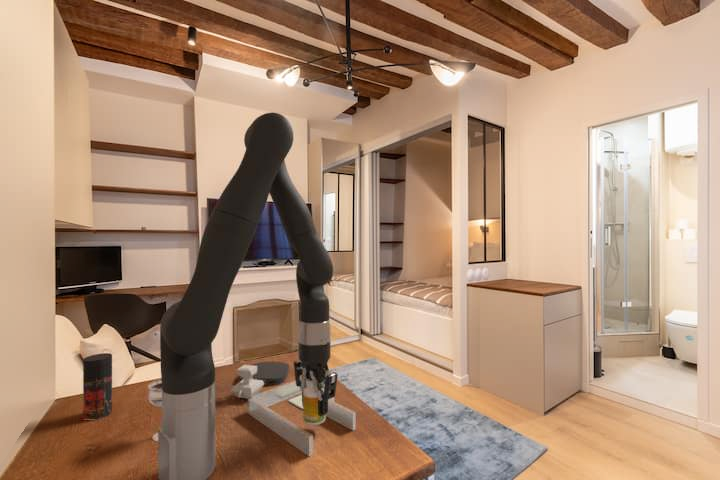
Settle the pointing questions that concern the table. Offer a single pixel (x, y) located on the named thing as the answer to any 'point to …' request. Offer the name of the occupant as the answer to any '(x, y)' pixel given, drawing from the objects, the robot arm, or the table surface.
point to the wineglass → (155, 397)
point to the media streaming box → (271, 372)
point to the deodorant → (97, 386)
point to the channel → (286, 428)
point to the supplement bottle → (311, 404)
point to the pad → (297, 401)
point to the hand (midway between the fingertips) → (314, 410)
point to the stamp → (247, 382)
